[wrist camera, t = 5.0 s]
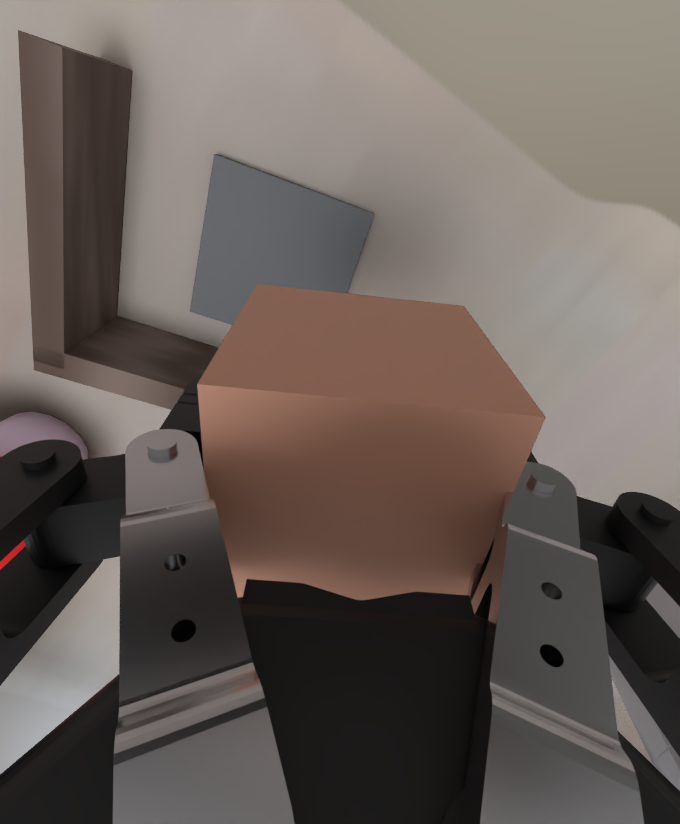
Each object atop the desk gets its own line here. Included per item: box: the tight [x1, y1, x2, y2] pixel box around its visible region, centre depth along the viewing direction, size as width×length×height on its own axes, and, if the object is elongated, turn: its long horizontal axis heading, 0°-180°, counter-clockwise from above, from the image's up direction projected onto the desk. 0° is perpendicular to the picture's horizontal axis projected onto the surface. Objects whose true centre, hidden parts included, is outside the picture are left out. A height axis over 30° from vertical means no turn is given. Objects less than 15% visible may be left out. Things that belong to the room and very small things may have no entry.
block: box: [197, 284, 545, 600], centre depth 11 cm, size 6×6×6 cm
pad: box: [190, 154, 374, 325], centre depth 26 cm, size 9×9×1 cm
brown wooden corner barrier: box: [18, 30, 219, 410], centre depth 25 cm, size 30×15×6 cm, turn 71°
